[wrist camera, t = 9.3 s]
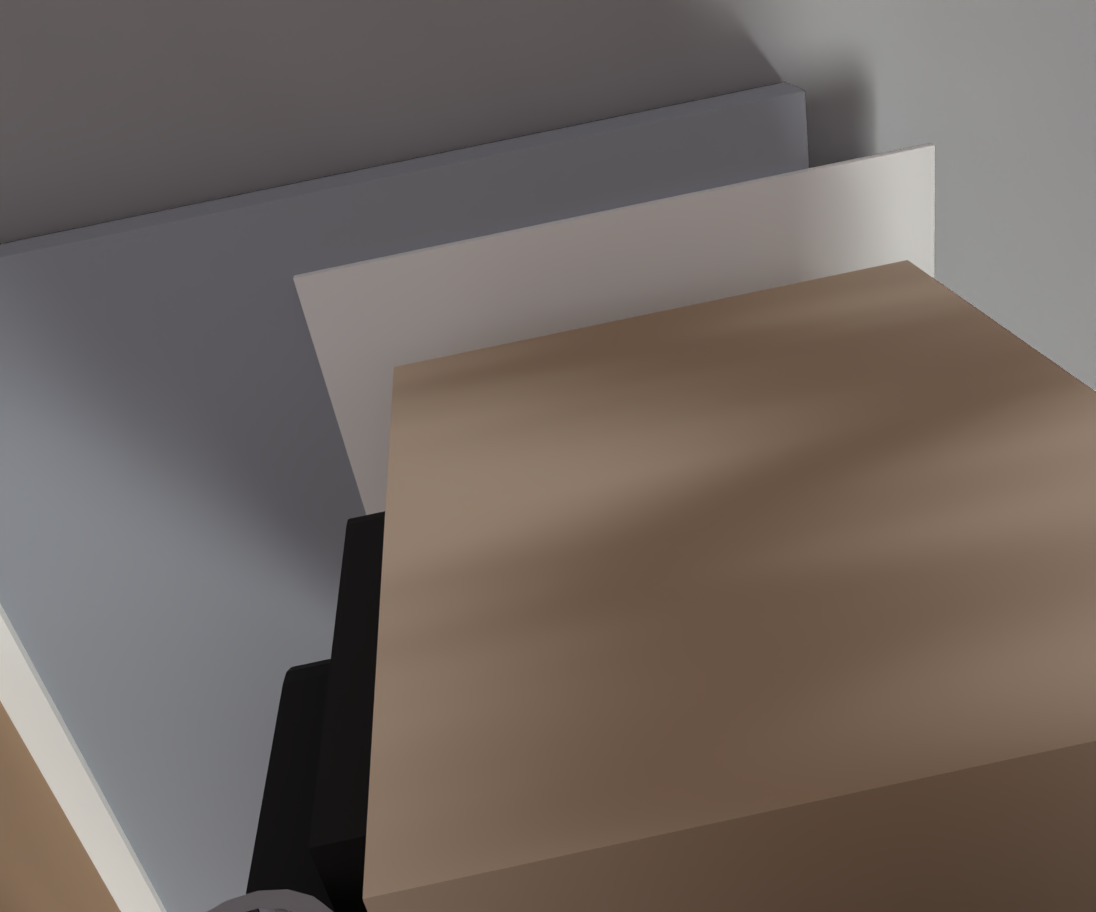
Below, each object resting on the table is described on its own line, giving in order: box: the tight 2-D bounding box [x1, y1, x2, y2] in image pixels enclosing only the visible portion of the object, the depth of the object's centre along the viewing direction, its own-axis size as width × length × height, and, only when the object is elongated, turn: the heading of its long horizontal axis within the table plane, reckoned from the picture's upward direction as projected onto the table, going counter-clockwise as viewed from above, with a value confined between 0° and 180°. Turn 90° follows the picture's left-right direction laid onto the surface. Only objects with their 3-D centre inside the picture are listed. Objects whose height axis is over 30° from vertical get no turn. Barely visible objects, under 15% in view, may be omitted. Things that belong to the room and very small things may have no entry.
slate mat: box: [0, 82, 935, 912], centre depth 13 cm, size 21×14×1 cm, turn 100°
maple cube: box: [363, 260, 1096, 912], centre depth 8 cm, size 5×5×6 cm
